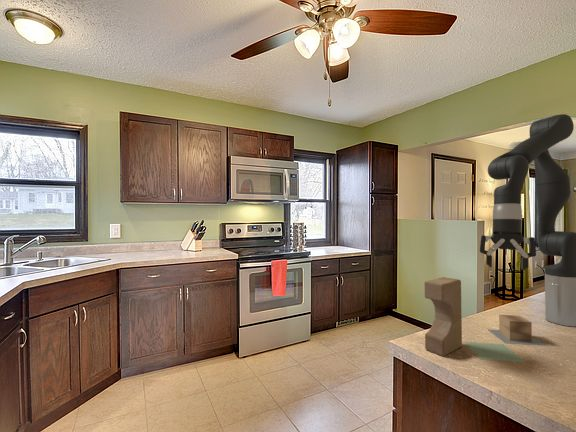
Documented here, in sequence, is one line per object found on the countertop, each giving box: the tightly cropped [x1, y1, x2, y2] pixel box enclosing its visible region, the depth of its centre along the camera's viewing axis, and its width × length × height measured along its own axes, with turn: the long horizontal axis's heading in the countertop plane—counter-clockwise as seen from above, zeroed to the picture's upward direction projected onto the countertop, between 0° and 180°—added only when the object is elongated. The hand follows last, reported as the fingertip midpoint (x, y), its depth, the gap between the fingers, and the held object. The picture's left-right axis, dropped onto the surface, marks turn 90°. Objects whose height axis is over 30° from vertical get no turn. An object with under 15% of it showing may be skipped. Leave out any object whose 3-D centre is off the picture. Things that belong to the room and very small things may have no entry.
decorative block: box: [423, 276, 463, 357], centre depth 84 cm, size 11×6×20 cm, turn 124°
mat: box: [463, 341, 528, 363], centre depth 81 cm, size 11×11×1 cm
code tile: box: [487, 329, 547, 347], centre depth 91 cm, size 11×11×1 cm
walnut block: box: [498, 314, 533, 342], centre depth 91 cm, size 6×6×6 cm
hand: (506, 268), depth 92 cm, fingers open, 8 cm apart
